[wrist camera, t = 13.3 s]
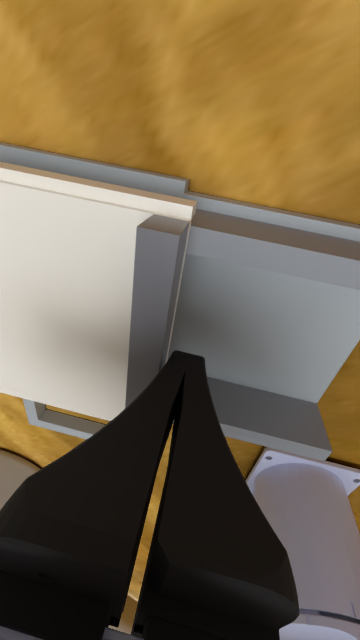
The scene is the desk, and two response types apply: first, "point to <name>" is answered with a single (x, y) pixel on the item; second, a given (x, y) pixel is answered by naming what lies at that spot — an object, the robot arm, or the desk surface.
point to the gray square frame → (246, 307)
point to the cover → (86, 288)
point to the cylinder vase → (13, 474)
